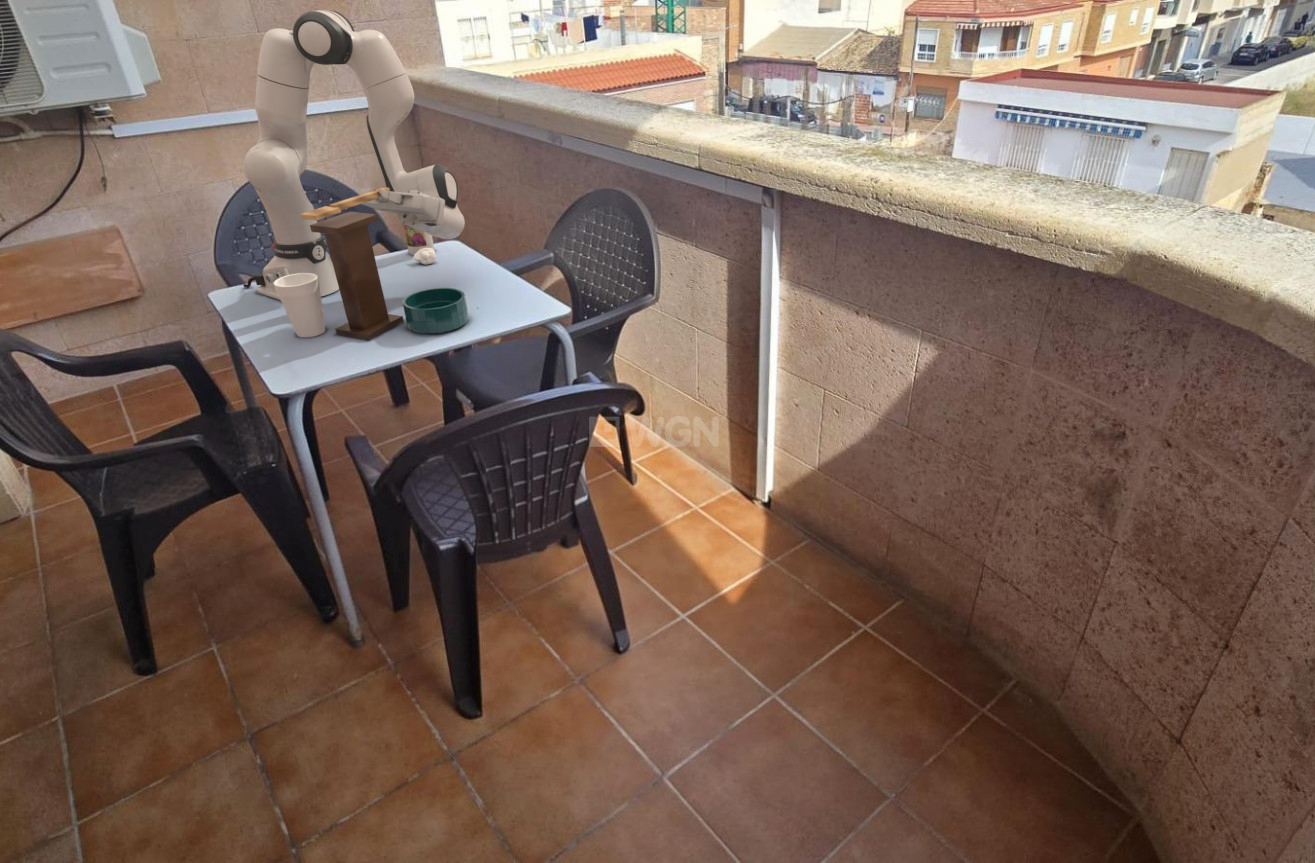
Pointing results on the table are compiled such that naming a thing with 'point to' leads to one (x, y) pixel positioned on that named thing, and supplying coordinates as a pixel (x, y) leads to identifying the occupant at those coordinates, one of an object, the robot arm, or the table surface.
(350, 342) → the table surface
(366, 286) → the wooden pedestal
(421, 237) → the milk bottle
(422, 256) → the white lumpy piece
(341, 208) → the spatula
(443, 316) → the bowl
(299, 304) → the foam cup
